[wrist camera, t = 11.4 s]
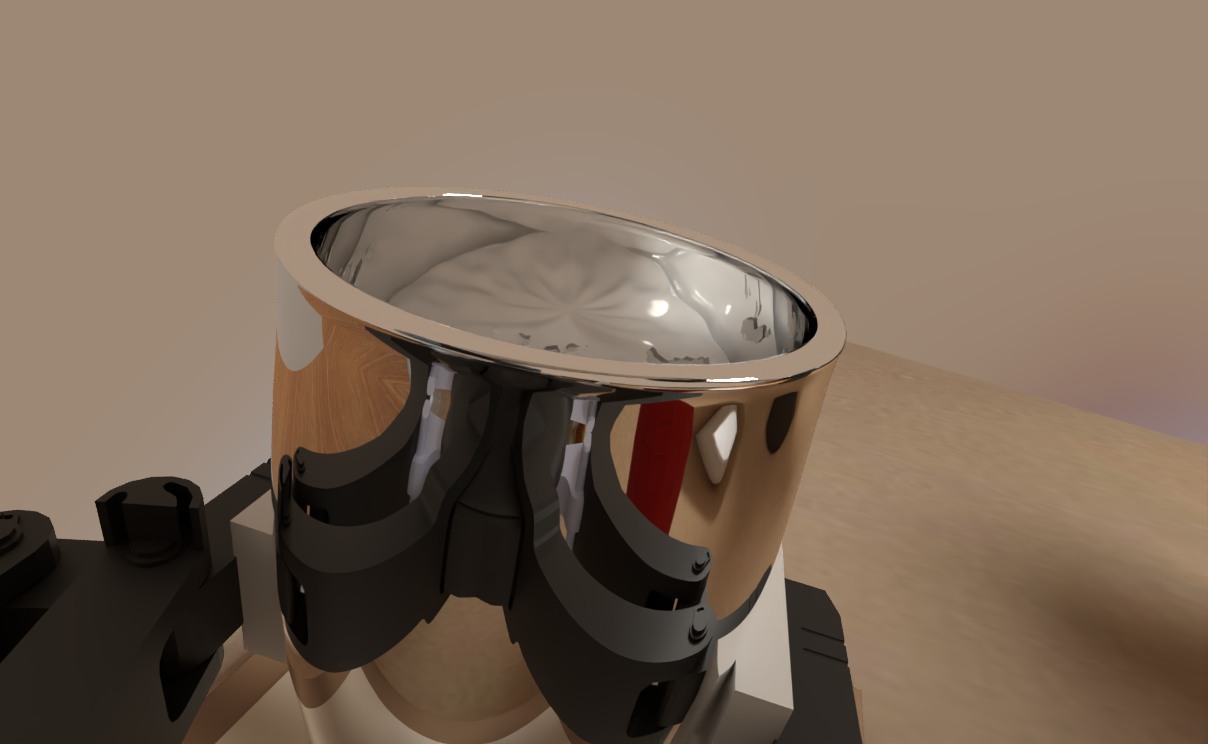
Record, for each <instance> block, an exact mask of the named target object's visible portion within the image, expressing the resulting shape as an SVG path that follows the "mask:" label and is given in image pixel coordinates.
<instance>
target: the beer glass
mask: <svg viewBox="0 0 1208 744" xmlns="http://www.w3.org/2000/svg"><path fill="white" fill-rule="evenodd" d="M274 247H275V253H276V256H277V262H278V298H277V300H278V301H277V332H276V348H275V366H274V383H273V407H272V444H271V509H272V543H273V567H274V576H275V584H276V592H277V599H278V607H279V615H280V623H281V631H282V638H283V646H284V652H285V657H286V661H287V665H288V669H289V672H290V676H291V679H292V683H293V686H294V690H295V693H296V697H297V700H298V704H299V707H300V711H301V714H302V718H303V721H304V725H305V728H306V731H307V734H308V737H309V740H310V742H311V744H690V743H691V741H692V739H693V738H694V736H695V735H696V733H697V732H698V730H699V729H700V727H701V726H702V724H703V723H704V721H705V720H706V718H707V716H708V715H709V713H710V712H711V710H712V708H713V706H714V704H715V702H716V700H717V698H718V696H719V694H720V692H721V690H722V687H723V685H724V683H725V681H726V679H727V677H728V675H729V673H730V671H731V668H732V666H733V664H734V662H735V660H736V658H737V656H738V654H739V652H740V649H741V647H742V645H743V643H744V641H745V639H746V637H747V635H748V632H749V630H750V627H751V625H752V622H753V619H754V617H755V614H756V611H757V608H758V606H759V603H760V600H761V598H762V595H763V592H764V590H765V587H766V584H767V581H768V579H769V576H770V573H771V571H772V568H773V565H774V563H775V560H776V557H777V554H778V552H779V548H780V545H781V542H782V539H783V535H784V532H785V529H786V526H787V523H788V519H789V516H790V513H791V510H792V506H793V503H794V500H795V497H796V494H797V490H798V487H799V484H800V481H801V477H802V473H803V470H804V466H805V463H806V459H807V456H808V452H809V449H810V445H811V442H812V438H813V435H814V431H815V428H816V424H817V421H818V417H819V414H820V411H821V408H822V404H823V401H824V398H825V394H826V391H827V388H828V385H829V381H830V379H831V376H832V373H833V370H834V367H835V365H836V362H837V360H838V358H839V356H840V355H841V353H842V351H843V349H844V347H845V344H846V337H847V332H846V327H845V323H844V321H843V318H842V316H841V315H840V313H839V311H838V310H837V309H836V308H835V306H834V305H833V304H832V303H831V302H830V301H829V300H828V299H827V298H826V297H825V296H824V295H823V294H822V293H821V292H819V291H818V290H817V289H816V288H814V287H813V286H812V285H810V284H809V283H808V282H806V281H804V280H803V279H801V278H800V277H798V276H797V275H795V274H793V273H792V272H790V271H788V270H786V269H784V268H783V267H781V266H779V265H777V264H775V263H773V262H771V261H769V260H767V259H765V258H763V257H761V256H758V255H756V254H754V253H752V252H749V251H747V250H744V249H742V248H740V247H737V246H734V245H732V244H729V243H727V242H724V241H722V240H719V239H716V238H713V237H710V236H708V235H705V234H702V233H698V232H696V231H692V230H689V229H686V228H683V227H679V226H676V225H673V224H669V223H666V222H662V221H659V220H655V219H651V218H648V217H644V216H640V215H636V214H632V213H628V212H623V211H619V210H615V209H610V208H605V207H601V206H596V205H591V204H586V203H580V202H575V201H569V200H564V199H557V198H551V197H545V196H538V195H531V194H523V193H515V192H505V191H496V190H485V189H472V188H454V187H392V188H378V189H368V190H360V191H353V192H347V193H342V194H337V195H333V196H329V197H325V198H322V199H319V200H316V201H313V202H311V203H308V204H306V205H304V206H302V207H300V208H298V209H296V210H295V211H293V212H292V213H290V214H289V215H288V216H287V217H286V218H285V219H284V220H283V221H282V222H281V224H280V225H279V227H278V229H277V231H276V235H275V239H274Z"/></svg>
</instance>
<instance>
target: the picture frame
mask: <svg viewBox="0 0 1208 744" xmlns="http://www.w3.org/2000/svg"><path fill="white" fill-rule="evenodd" d="M853 692H854V698H855V703H856V709H857V715H858V720H859V726H860V732H861V737H862V743H863V744H864V732H863V712H862V691H861V690H859V689H857V688H854V687H853ZM182 744H311V742H310V740H309V737H308V734H307V731H306V728H305V725H304V721H303V718H302V714H301V711H300V707H299V704H298V700H297V697H296V693H295V690H294V686H293V683H292V679H291V676H290V672H289V669H288V665H287V663H286V664H284V663H282V662H279V661H276V660H273V659H271V658H268V657H265V656H262V655H260V654H257V653H255V654H254V655H253V656H251V657H250V658H249V659H248V660H247V661H246V662H245V663H244V664H243V665H241V666H240V667H239V668H238V669H237V670H236V671H235V672H234V673H233V674H232V675H230V676H229V677H228V678H227V679H226V680H225V681H224V682H223V683H222V684H221V685H219V686H218V687H217V688H216V689H215V690H214V691H213V692H212V693H211V694H209V695H208V696H207V697H206V698H205V699H204V701H203V703H202V705H201V707H200V709H199V711H198V713H197V715H196V716H195V718H194V720H193V722H192V724H191V726H190V728H189V730H188V732H187V734H186V736H185V738H184V740H183V742H182Z"/></svg>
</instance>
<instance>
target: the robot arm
mask: <svg viewBox="0 0 1208 744" xmlns="http://www.w3.org/2000/svg"><path fill="white" fill-rule="evenodd" d="M95 504H96V508H97V512H98V516H99V520H100V525H101V529H102V533H103V537H104V541H91V540H72V539H57V538H56V535H55V531H54V528H53V525H52V523H51V521H50V518H49V517H47V516H45V515H43V514H41V513H39V512H36V511H25V510H12V511H4V512H0V744H182V742H183V740H184V738H185V736H186V734H187V732H188V730H189V728H190V726H191V724H192V722H193V720H194V718H195V716H196V715H197V713H198V711H199V709H200V707H201V705H202V703H203V701H204V699H205V697H206V695H207V693H208V691H209V689H210V687H211V685H212V684H213V682H214V680H215V678H216V676H217V674H218V672H219V670H220V668H221V665H222V661H223V657H224V648H223V643H224V642H225V641H226V640H227V639H228V638H229V637H230V636H231V635H232V634H233V633H234V632H235V631H236V630H237V629H238V628H239V627H240V626H241V625H242V632H243V641H244V649H246V650H249V651H251V652H254V653H257V654H260V655H262V656H265V657H268V658H271V659H273V660H276V661H279V662H282V663H284V664H286V663H287V661H286V657H285V652H284V646H283V638H282V631H281V623H280V615H279V607H278V599H277V592H276V584H275V576H274V567H273V543H272V509H271V458H270V459H268V462H267V463H263V464H261V465H260V466H259V467H257V468H256V469H255V470H253V471H252V472H251V474H250V475H249V476H248V475H246V476H245V477H243V478H242V479H240V480H239V481H238V482H236V483H235V484H233V485H232V486H231V487H229V488H228V489H226V490H225V491H224V492H222V493H221V494H219V495H218V496H217V497H215V498H214V499H213V500H211V501H210V502H208V503H207V504H206V505H204V501H203V495H202V493H201V490H200V487H199V486H197V485H195V484H194V483H193V482H191V481H189V480H187V479H182V478H177V477H150V478H145V479H141V480H136V481H131V482H128V483H126V484H124V485H121V486H119V487H116V488H114V489H112V490H110V491H108V492H107V493H106V494H104V495H103V496H101V497H100V498H99V499H97V500H96V501H95ZM847 665H848V658H847V652H846V646H844V635H843V629H842V623H841V618H840V615H839V613H838V611H837V610H836V608H835V606H834V605H833V603H832V601H831V600H830V598H829V596H828V595H827V593H826V591H825V590H822V589H818V588H815V587H812V586H809V585H805V584H802V583H799V582H796V581H792V580H789V579H786V578H784V565H783V551H782V542H781V545H780V548H779V552H778V554H777V557H776V560H775V563H774V565H773V568H772V571H771V573H770V576H769V579H768V581H767V584H766V587H765V590H764V592H763V595H762V598H761V600H760V603H759V606H758V608H757V611H756V614H755V617H754V619H753V622H752V625H751V627H750V630H749V632H748V635H747V637H746V639H745V641H744V643H743V645H742V647H741V649H740V652H739V654H738V656H737V658H736V660H735V662H734V664H733V666H732V668H731V671H730V673H729V675H728V677H727V679H726V681H725V683H724V685H723V687H722V690H721V692H720V694H719V696H718V698H717V700H716V702H715V704H714V706H713V708H712V710H711V712H710V713H709V715H708V716H707V718H706V720H705V721H704V723H703V724H702V726H701V727H700V729H699V730H698V732H697V733H696V735H695V736H694V738H693V739H692V741H691V743H690V744H863V743H862V737H861V732H860V726H859V720H858V715H857V709H856V703H855V698H854V692H853V686H852V680H851V675H850V669H849V667H848V666H847Z"/></svg>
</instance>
